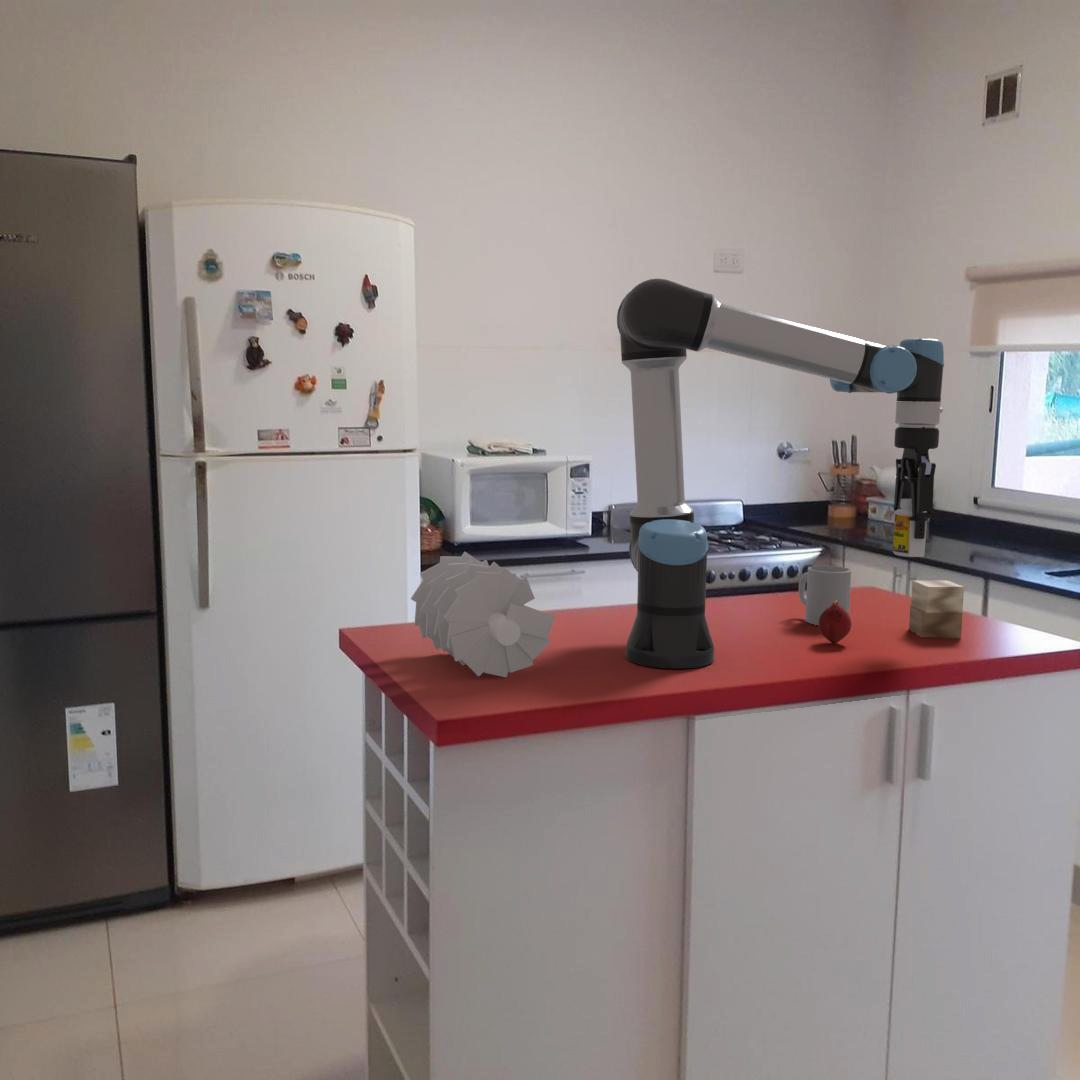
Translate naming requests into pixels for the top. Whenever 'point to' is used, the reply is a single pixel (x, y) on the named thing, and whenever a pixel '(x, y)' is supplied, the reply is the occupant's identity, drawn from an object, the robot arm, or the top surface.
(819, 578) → the mug
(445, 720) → the top surface
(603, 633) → the top surface
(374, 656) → the top surface
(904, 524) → the supplement bottle
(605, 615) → the top surface
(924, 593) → the top block
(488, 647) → the spiral staircase
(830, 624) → the onion
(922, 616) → the bottom block
